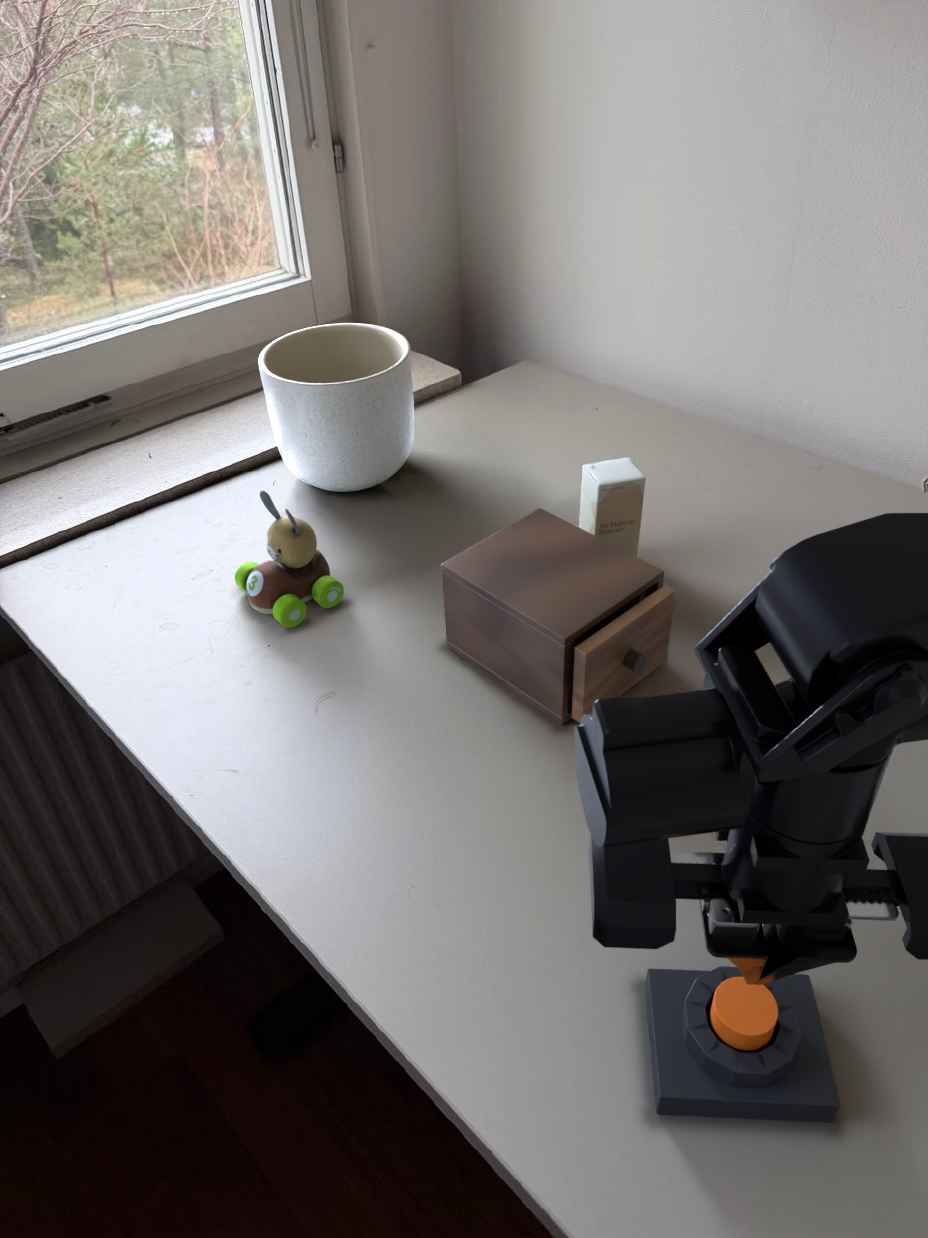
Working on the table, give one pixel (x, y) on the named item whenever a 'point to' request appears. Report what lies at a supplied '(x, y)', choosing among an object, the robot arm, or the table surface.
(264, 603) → the toy car
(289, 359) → the planter
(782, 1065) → the switch block
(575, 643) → the brown wooden drawer
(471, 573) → the nightstand
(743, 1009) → the button
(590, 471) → the box
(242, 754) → the table surface
